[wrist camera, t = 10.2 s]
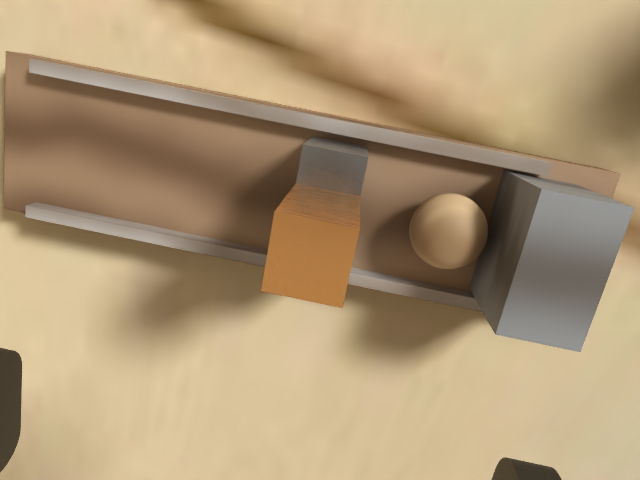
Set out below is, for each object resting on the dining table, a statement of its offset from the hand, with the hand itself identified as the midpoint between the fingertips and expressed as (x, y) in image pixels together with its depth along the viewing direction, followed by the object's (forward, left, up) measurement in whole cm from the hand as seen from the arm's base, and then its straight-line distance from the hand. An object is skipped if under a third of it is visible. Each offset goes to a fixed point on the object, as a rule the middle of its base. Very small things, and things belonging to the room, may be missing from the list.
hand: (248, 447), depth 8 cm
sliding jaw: (0, 0, -21) cm, 21 cm away
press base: (0, -2, -23) cm, 23 cm away
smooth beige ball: (0, +7, -19) cm, 20 cm away
